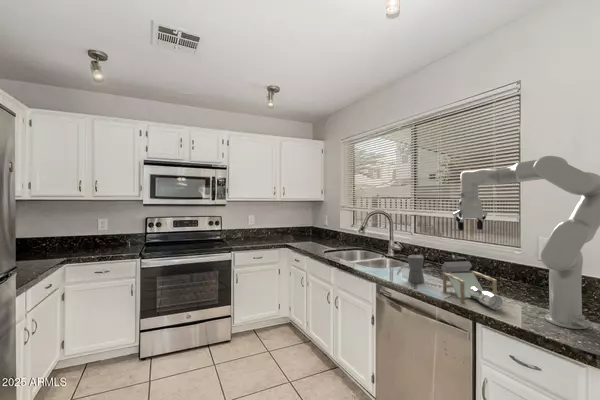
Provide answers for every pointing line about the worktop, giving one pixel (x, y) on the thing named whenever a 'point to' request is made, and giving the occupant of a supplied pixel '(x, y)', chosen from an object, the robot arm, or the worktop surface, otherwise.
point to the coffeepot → (416, 268)
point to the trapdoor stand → (494, 283)
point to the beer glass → (486, 298)
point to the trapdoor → (461, 276)
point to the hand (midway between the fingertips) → (470, 229)
